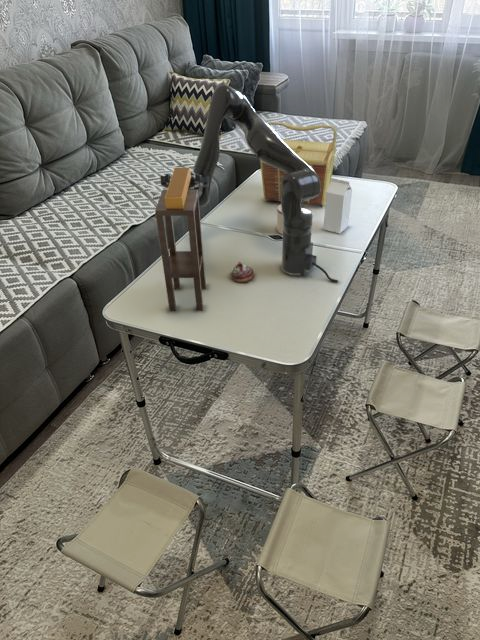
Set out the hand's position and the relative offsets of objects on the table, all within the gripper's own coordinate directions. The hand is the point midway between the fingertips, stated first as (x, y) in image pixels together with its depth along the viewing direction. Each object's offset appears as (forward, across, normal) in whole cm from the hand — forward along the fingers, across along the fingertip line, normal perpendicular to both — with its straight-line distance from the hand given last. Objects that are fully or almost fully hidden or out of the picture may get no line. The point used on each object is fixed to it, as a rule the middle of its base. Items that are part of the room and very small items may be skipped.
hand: (181, 177), depth 148 cm
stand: (-6, 0, +35) cm, 36 cm away
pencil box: (+6, 0, +5) cm, 8 cm away
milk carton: (-47, +52, +12) cm, 71 cm away
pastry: (-16, +17, +29) cm, 37 cm away
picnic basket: (-73, +40, -4) cm, 83 cm away
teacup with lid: (-46, +34, +12) cm, 59 cm away
